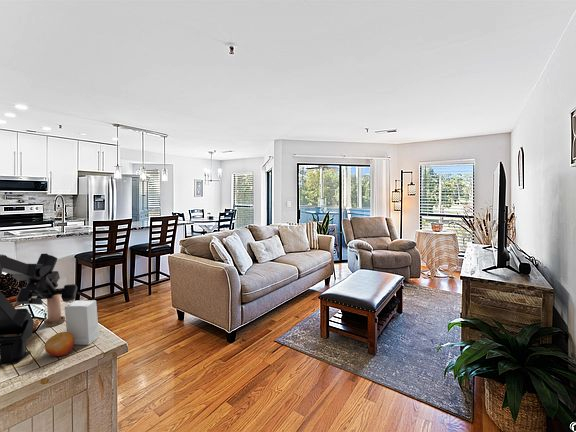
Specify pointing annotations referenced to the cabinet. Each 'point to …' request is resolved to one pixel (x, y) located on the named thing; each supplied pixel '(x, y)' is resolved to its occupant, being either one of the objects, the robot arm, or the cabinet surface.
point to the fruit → (60, 344)
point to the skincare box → (82, 321)
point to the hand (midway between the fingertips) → (55, 302)
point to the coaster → (54, 322)
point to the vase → (54, 308)
